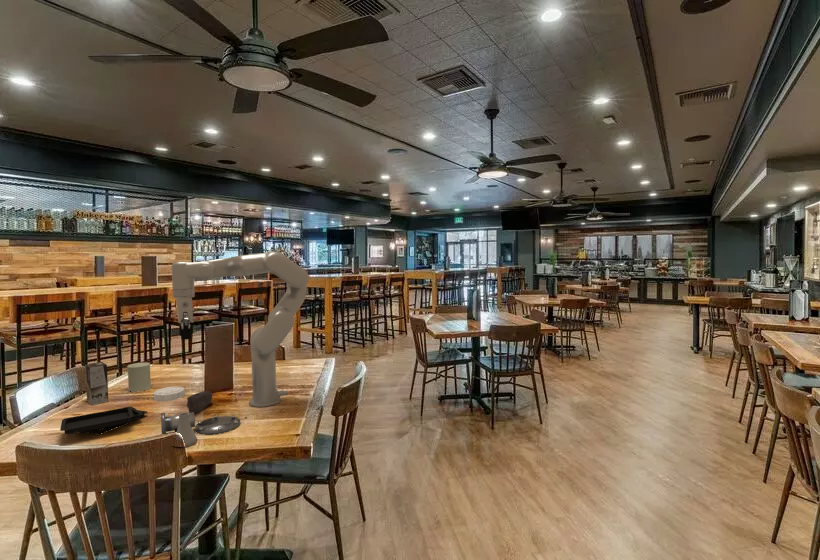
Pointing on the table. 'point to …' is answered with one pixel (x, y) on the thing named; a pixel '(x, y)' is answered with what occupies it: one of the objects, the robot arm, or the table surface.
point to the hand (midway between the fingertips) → (185, 337)
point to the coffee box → (96, 382)
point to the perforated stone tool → (199, 401)
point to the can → (139, 377)
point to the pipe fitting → (201, 424)
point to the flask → (186, 429)
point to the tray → (101, 421)
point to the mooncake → (169, 393)
